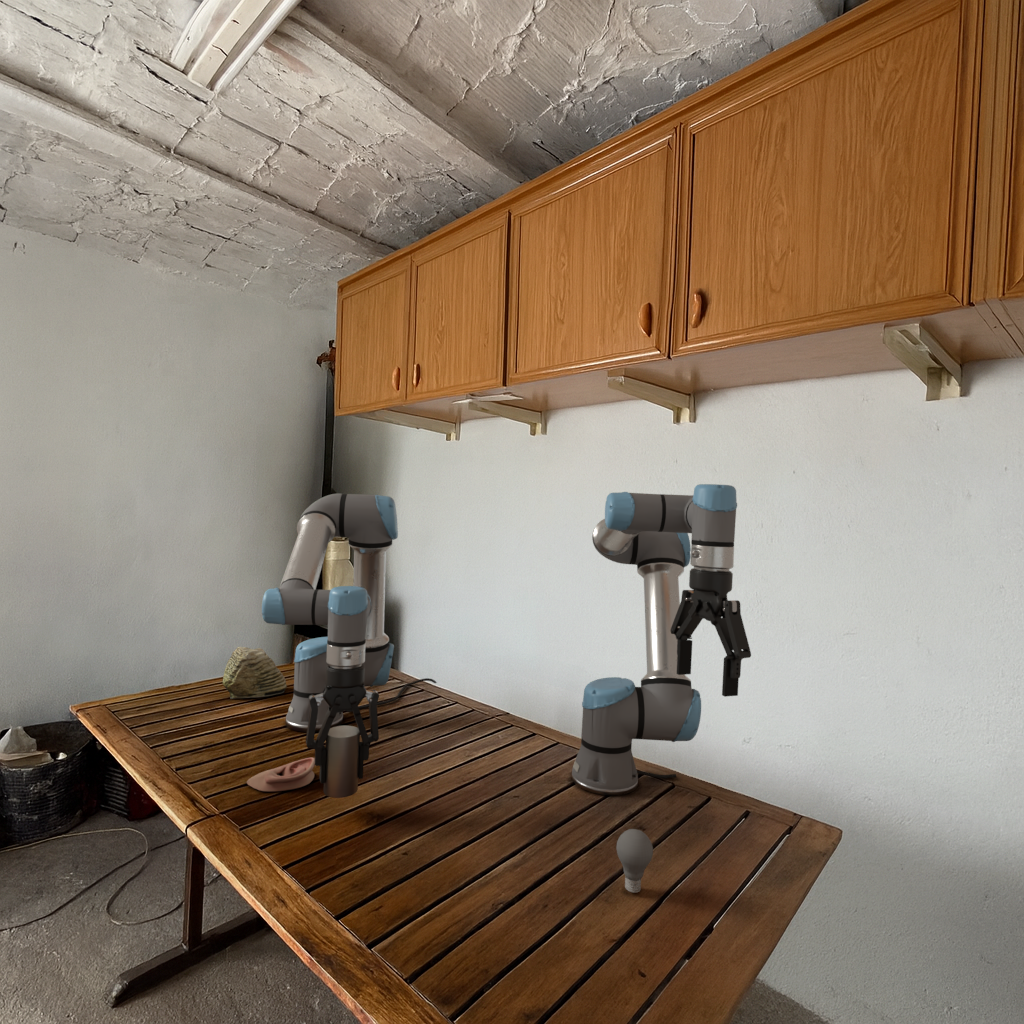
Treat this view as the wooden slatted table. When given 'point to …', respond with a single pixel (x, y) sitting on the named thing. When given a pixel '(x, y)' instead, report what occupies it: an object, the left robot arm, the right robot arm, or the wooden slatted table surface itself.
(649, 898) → the wooden slatted table surface
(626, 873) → the light bulb
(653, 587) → the right robot arm
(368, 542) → the left robot arm
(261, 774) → the anatomical model
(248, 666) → the fossil
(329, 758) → the canister
